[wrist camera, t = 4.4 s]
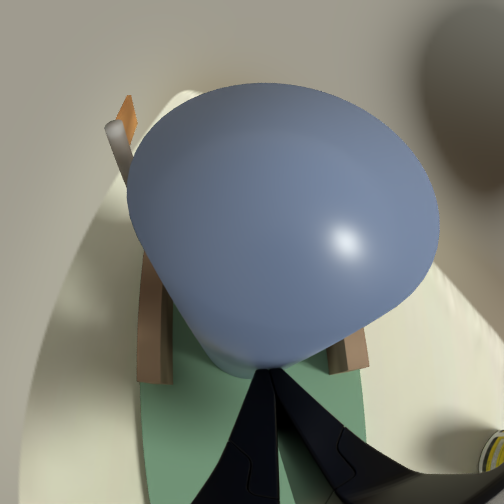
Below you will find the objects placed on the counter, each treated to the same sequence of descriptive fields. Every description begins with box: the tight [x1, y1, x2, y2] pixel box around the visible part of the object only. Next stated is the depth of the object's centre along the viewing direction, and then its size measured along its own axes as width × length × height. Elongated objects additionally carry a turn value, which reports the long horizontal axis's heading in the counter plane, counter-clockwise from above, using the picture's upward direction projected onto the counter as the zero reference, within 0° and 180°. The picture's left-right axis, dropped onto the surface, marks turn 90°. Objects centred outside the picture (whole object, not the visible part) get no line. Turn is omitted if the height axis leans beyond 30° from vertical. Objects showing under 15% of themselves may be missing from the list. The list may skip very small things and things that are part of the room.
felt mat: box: [140, 302, 366, 504], centre depth 15 cm, size 19×13×1 cm
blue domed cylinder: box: [127, 83, 440, 379], centre depth 11 cm, size 6×6×13 cm
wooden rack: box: [104, 95, 369, 385], centre depth 13 cm, size 12×12×10 cm
